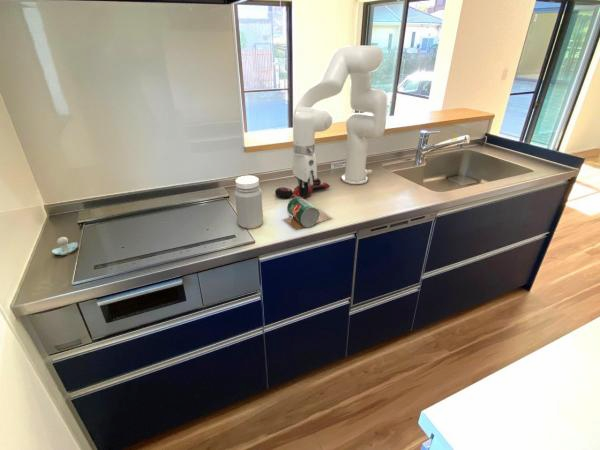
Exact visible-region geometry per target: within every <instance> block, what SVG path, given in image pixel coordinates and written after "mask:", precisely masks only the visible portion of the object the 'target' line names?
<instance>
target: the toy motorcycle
mask: <svg viewBox="0 0 600 450" xmlns="http://www.w3.org/2000/svg"><path fill="white" fill-rule="evenodd" d="M328 188H330V184H329V183H327V182H321V179H320V178H319V177H317V179H316V180H313V185H311V186H308V196H305V197H301V196H299V185H298V184H297V186H296V187H294V188H293V189H294V190H292V189H291V188H289V187H286V186H281V187H278V188H276V189H275V191H274V194H275V196H277V198H281V199H289V198H290V199H292V198H294V197H301V198H303V199H304V200H307V197H310V196H311V195H312V194H313V192H314V191H323V190H325V189H328Z"/></svg>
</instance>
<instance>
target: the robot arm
mask: <svg viewBox="0 0 600 450" xmlns="http://www.w3.org/2000/svg"><path fill="white" fill-rule="evenodd" d="M383 61H384V52H383V49H382V48H381V47H380V46H378V45H361V44H360V45H359V44H351V45H350V44H349V45H345V46H342V47H338V48H337V49H335V50H334V51H333V53H332V55H331V57H330V58H329V61H328V63H327V65H326V68H325V70H324V73H323V74H322V76H321V79H320V80H318V82H316V83H315V84H313V85H311V86H310V87H309V88H308V89H307V90H305V92H304V93H303V94H301V96H300V97H299V100H298V102H297V104H296V106H295V109H294V110H293V111H294V112H293V114H292V116H293V118H292V147H293V149H292V150H293V153H292V175H293V176H294V177H295V178H296V180H297V186H298V185H299V196H301V197H303V198H306V197H309V196H308V186H311V185H313V180H316V179H317V178H318V169H317V168H318V167H317V157H316V154H315V144H316V143H315V141H316V140H315V137H316V136H315V135H316V133H321V132H325V131H327V130H328V129H330V127H332V124H333V115H332V113H331V112H330V111H329V110H327V109H323V108H316V107H313V106H314V105H316V104H317V103H318V102H320V101H323V100H325V99H329V98H331V97H335V96H337V95H339V94H340V93H341V92H342V91H343V88H344V86H345V83H346V81H347V79H348V77H349V79H350V80H349V81H350V88H349V89H350V90H349V91H350V92H349V93H350V94H349V104H350V108H351V109H352V110H354V111H356V112H355V113H351V114H349V115H348V116H347V117H346V123H345V127H346V137H347V138H346V153H345V154H346V155H345V156H346V157H345V170H344V174H342V176H341V181H342V182H343V183H345V184H349V185H362V184H363V185H364V184H366V183H367V182H368V180H369V178H368V176H367V175H370V174H373V170H372V169H367V168H366V167H367V165H366V164H367V156H368V140H367V139H366V137H367V138H372V139H379V138H381V137H383V135H384V133H385V131H386V124H387V114H388V113H387V112H388V95H387V93H386V92H385V90H383V89H377V88H372V75H371V73H372V72H375V71H377V70H379V68H380V67H381V66H382V64H383ZM360 112H363V113H360ZM368 113H371V114H368ZM305 196H306V197H305Z"/></svg>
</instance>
